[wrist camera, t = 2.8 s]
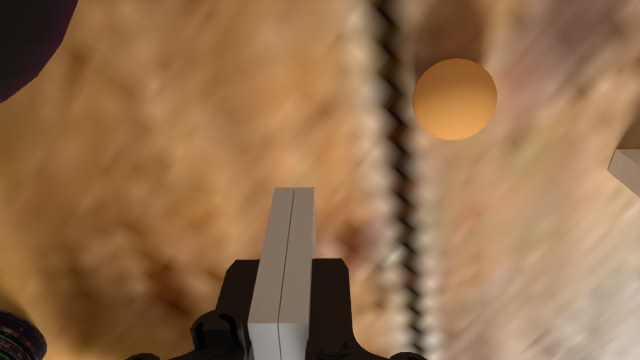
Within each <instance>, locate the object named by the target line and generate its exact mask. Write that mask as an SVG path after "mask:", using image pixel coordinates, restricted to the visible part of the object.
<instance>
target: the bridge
mask: <svg viewBox="0 0 640 360" xmlns="http://www.w3.org/2000/svg"><path fill="white" fill-rule="evenodd" d="M608 172H609V173H611V174H612V175H613V176H614V177H616V178H617V179H618V180H619V181H620V182H622V183H623V184H624V185H625V186H626V187H628V188H629V189H630V190H631V191H633V192H634V193H635V194H636V195H637V196H639V197H640V149H616V150H615V153H614V155H613V158H612V161H611V163H610V166H609V168H608Z"/></svg>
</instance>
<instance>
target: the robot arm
mask: <svg viewBox="0 0 640 360" xmlns="http://www.w3.org/2000/svg"><path fill="white" fill-rule="evenodd" d="M315 244H316V239H315V202H314V187H311V188H295V190H294V188H275V189H274V194H273V199H272V204H271V209H270V214H269V219H268V224H267V229H266V234H265V239H264V243H263V248H262V253H261V258H260V260H235V262H234V263H233V264H232V265H231V266H230V267H229V269H228V270H227V271H226V275H225V278H224V282H223V285H222V288H221V292H220V295H219V298H218V302H217V305H216V309H215V310H213V311H210V312H208V313H205V314H203V315H202V316H200V317H199V318H198V319H197V320H196V321H195V322H194V323H193V325H192V327H191V329H190V332H191V336H192V339H193V343H194V347H195V349H194V350H192V351H191V352H189V353H187V354H184V355H182V356H179V357H175V358H172V359H168V360H427V359H425V358H424V357H422V356H421V355H418V354H415V353H412V352H400V353H397V354H395V355H393V356H391V357H390V358H389V359H387V358H384V357H381V356H378V355H375V354H372V353H370V352H368V351H366V350H365V349H364V348H362V347H361V346H360V345H359V344H358V342H357V341H356V339H355V337H354V334H353V328H352V313H351V299H350V284H349V270H348V268H347V266H346V265H345V263H344V261H343V260H342V258H317V259H315ZM126 360H160V358H159V357H158V356H156V355H153V354H151V353H140V354H137V355H133V356H131V357H129V358H127V359H126Z"/></svg>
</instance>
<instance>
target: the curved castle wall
mask: <svg viewBox="0 0 640 360" xmlns="http://www.w3.org/2000/svg"><path fill="white" fill-rule="evenodd" d="M77 2H78V0H0V103H1V102H3V101H6V100H7V99H8V98H10V97H11V96H12V95H14V94H15V93H16V92H17V91H19V90H20V89H21V88H23V87H24V86H25V85H27V84H28V83H29V82H30V81H32V80H33V79H34V78H36V77H37V76H38V74H39V73H40V72H41V70H42V69H43V68H44V66H45V65H46V63H47V62H48V61H49V59H50V58H51V57H52V55H53V54H54V53H55V51H56V50H57V48H58V47H59V46H60V44H61V43H62V41H63V38H64V36H65V33H66V31H67V28H68V25H69V23H70V20H71V18H72V15H73V13H74V10H75V8H76V5H77Z"/></svg>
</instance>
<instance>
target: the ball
mask: <svg viewBox="0 0 640 360" xmlns="http://www.w3.org/2000/svg"><path fill="white" fill-rule="evenodd" d="M496 103H497V91H496V86H495V83H494V81H493V79H492V77H491V75H490V74H489V73H488V72H487V71H486V70H485V69H484V68H483V67H482V66H481V65H479V64H477V63H475V62H473V61H471V60H467V59H461V58H453V59H447V60H444V61H441V62H439V63H436V64H435V65H433V66H431V67H430V68H429V69H428V70H426V71H425V72H424V73H423V75H422V76H421V77H420V79H419V80H418V82H417V84H416V86H415V89H414V92H413V101H412V105H413V111H414V114H415V117H416V119H417V121H418V122H419V124H420V125H421V126H422V128H423V129H424V130H425V131H427V132H428V133H429V134H431V135H433V136H435V137H437V138H440V139H444V140H460V139H464V138H468V137H470V136H472V135H474V134H476V133H477V132H479V131H480V130H481V129H482V128H484V127H485V126H486V124H487V123H488V122H489V121H490V119H491V117H492V115H493V113H494V111H495V108H496Z"/></svg>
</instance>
